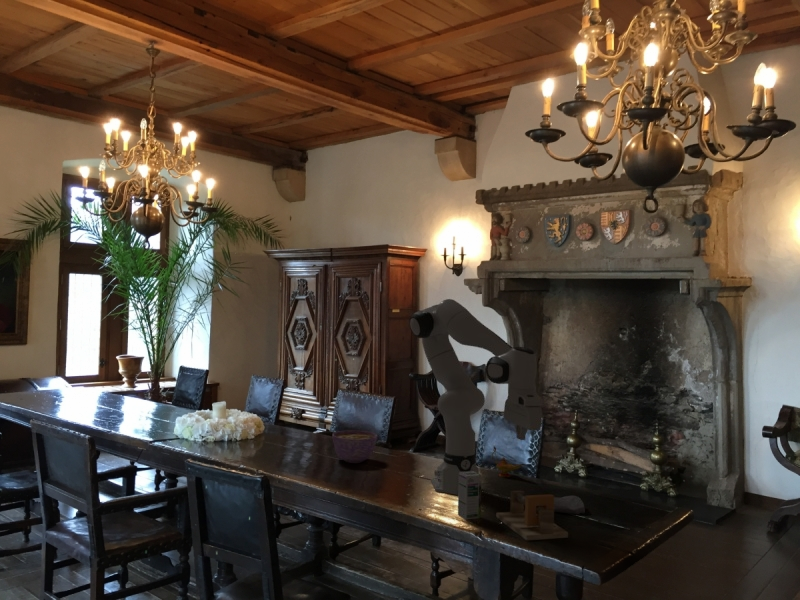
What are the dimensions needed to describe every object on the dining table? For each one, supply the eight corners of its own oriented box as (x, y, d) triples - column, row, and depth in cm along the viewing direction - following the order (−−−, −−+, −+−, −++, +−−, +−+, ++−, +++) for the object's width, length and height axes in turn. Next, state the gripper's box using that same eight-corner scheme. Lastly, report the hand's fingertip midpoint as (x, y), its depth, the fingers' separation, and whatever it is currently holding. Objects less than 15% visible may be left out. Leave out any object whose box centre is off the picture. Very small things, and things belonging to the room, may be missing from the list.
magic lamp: (519, 482, 264) (520, 455, 264) (485, 472, 277) (486, 446, 277) (530, 479, 268) (531, 452, 268) (496, 470, 282) (497, 444, 282)
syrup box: (465, 520, 215) (467, 475, 215) (457, 514, 220) (458, 471, 220) (480, 518, 217) (482, 474, 217) (472, 513, 222) (473, 470, 222)
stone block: (587, 519, 226) (578, 505, 236) (588, 506, 225) (578, 492, 235) (553, 520, 225) (545, 505, 235) (554, 507, 224) (546, 493, 234)
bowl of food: (376, 456, 301) (377, 431, 301) (376, 467, 281) (377, 440, 281) (332, 455, 300) (333, 429, 300) (329, 465, 280) (330, 438, 280)
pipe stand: (496, 517, 219) (497, 491, 219) (534, 514, 223) (535, 489, 223) (526, 540, 198) (527, 512, 198) (567, 537, 202) (568, 509, 202)
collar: (524, 524, 205) (525, 495, 205) (550, 522, 207) (551, 494, 207) (527, 526, 203) (528, 497, 203) (553, 524, 205) (554, 496, 206)
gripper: (499, 392, 224) (498, 433, 224) (527, 401, 204) (526, 446, 204) (516, 392, 226) (515, 432, 226) (545, 401, 206) (544, 445, 206)
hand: (520, 439), depth 215 cm, fingers closed
